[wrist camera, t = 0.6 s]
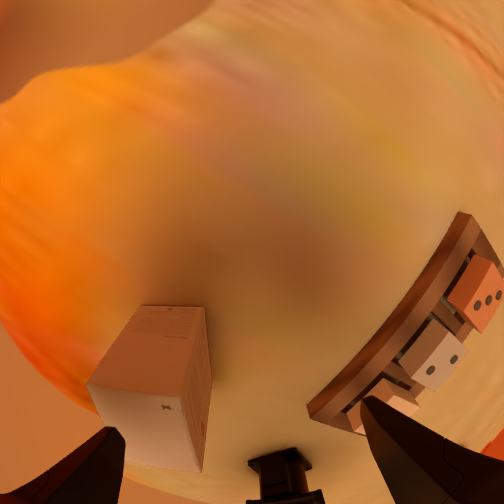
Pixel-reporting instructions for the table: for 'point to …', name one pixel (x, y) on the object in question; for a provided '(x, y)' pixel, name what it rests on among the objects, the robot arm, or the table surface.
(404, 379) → the tile tray
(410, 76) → the table surface
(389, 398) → the tile one pip
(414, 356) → the tile two pip
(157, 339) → the small box
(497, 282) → the tile three pip
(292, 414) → the table surface
